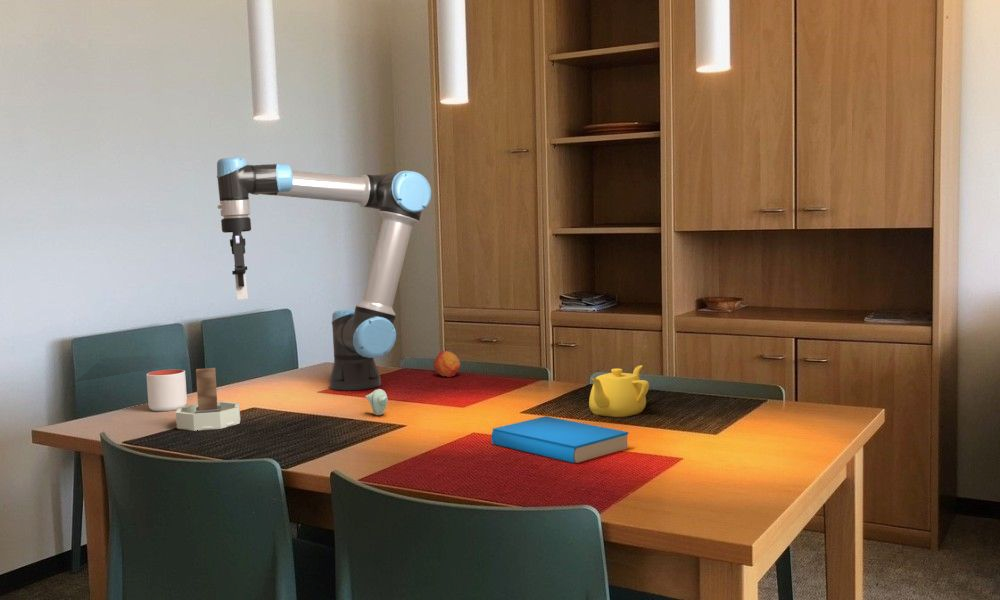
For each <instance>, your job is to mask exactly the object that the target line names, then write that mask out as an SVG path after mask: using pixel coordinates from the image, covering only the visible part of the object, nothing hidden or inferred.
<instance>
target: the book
mask: <svg viewBox="0 0 1000 600" xmlns="http://www.w3.org/2000/svg"><path fill="white" fill-rule="evenodd" d="M628 435H629V431H625V430H621V429H615V428H608V427H603V426H598V425H594V424H587V423H584V422H579V421H574V420H567V419H561V418H558V417H557V418H556V417H552V416H546V415H545V416H541V417H536V418H532V419H528V420H523V421H520V422H516V423H511V424H507V425H502V426H497V427H495V428H494V427H493V428H492V431H491V436H490V437H491V442H492V445H494V446H495V445H496V446H499V447H504V448H509V449H511V450H512V449H513V450H517V451H521V452H525V453H530V454H534V455H538V456H542V457H546V458H551V459H556V460H559V461H563V462H569V463H572V464H576V463H577V464H578V463H581V462H584V461H588V460H592V459H595V458H599V457H602V456H605V455H609V454H612V453H615V452H620V451H623V450H626V449H628V448H629V447H628Z"/></svg>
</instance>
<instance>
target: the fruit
mask: <svg viewBox="0 0 1000 600" xmlns="http://www.w3.org/2000/svg"><path fill="white" fill-rule="evenodd" d="M433 369H434V371H435V372H436V373H438V375H440V376H442V377H445V376H446V378H453V377H455V376H456V375H457V373H458V372H459V371H460V370H461V361H460V359H459V357H458V356H457V355H456V354H455V353H453V352H451V351H449V350H443V351H441V352H439V353H438V354H437V356H436V357H435V359H434V362H433ZM452 376H453V377H452Z"/></svg>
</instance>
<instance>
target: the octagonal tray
mask: <svg viewBox="0 0 1000 600" xmlns="http://www.w3.org/2000/svg"><path fill="white" fill-rule="evenodd" d="M217 406H218V409H212V410H199V411H198V402H196V403H191V404H189V405H186V406H183V407H179V408H178V409H177V410H175V418H176V421H175V422H176V429H178V430H184V431H194V432H196V431H197V430H198V431H209V430H211V431H212V430H220V429H224V428H229V427H232V426H233V427H234V426H235V425H238V424H240V423H241V408H240V402H234V401H233V402H231V401H220V400H219V401H217ZM198 431H197V432H198Z"/></svg>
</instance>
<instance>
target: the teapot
mask: <svg viewBox="0 0 1000 600" xmlns="http://www.w3.org/2000/svg"><path fill="white" fill-rule="evenodd" d="M642 368H643V365H637V366H636V367H635V368H634V369H633V371H632V373H630V372H628V373H627V372H623V371H624V370H623V368H611V372H608V373H604V374H600V375H597V376H596V377H595V378H594V377H593V378H592V377H591V378H590V379H591V380H592V382H593V384H592V388H591V390H590V394H589V399H588V400H589V401H588V404H589V405H588V406H589V409H590V412H591V413H592V414H593V415H595V416H603V417H611V418H626V417H630V416H634V415H638V414H640V413H642V412H643V411H644V409H645V408H646V404H647V399H646V398H647V397H646V396H647V393H648V391H649V390H650V389H649V388H650V383H649V381H647V380H645V379H641V378H640V377H641V374H640V372H641V370H642Z"/></svg>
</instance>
